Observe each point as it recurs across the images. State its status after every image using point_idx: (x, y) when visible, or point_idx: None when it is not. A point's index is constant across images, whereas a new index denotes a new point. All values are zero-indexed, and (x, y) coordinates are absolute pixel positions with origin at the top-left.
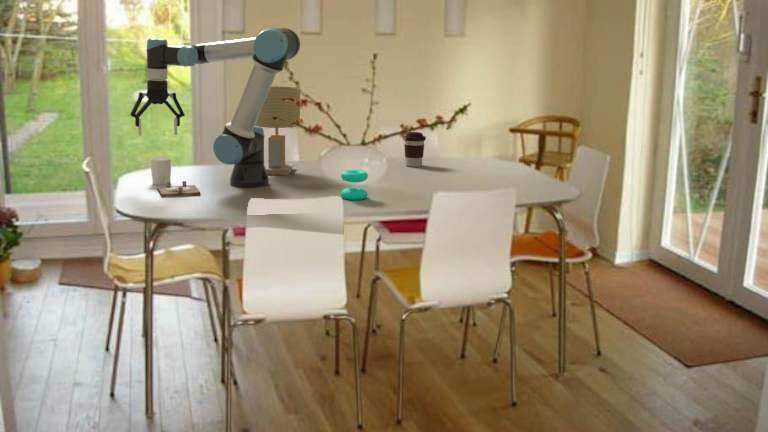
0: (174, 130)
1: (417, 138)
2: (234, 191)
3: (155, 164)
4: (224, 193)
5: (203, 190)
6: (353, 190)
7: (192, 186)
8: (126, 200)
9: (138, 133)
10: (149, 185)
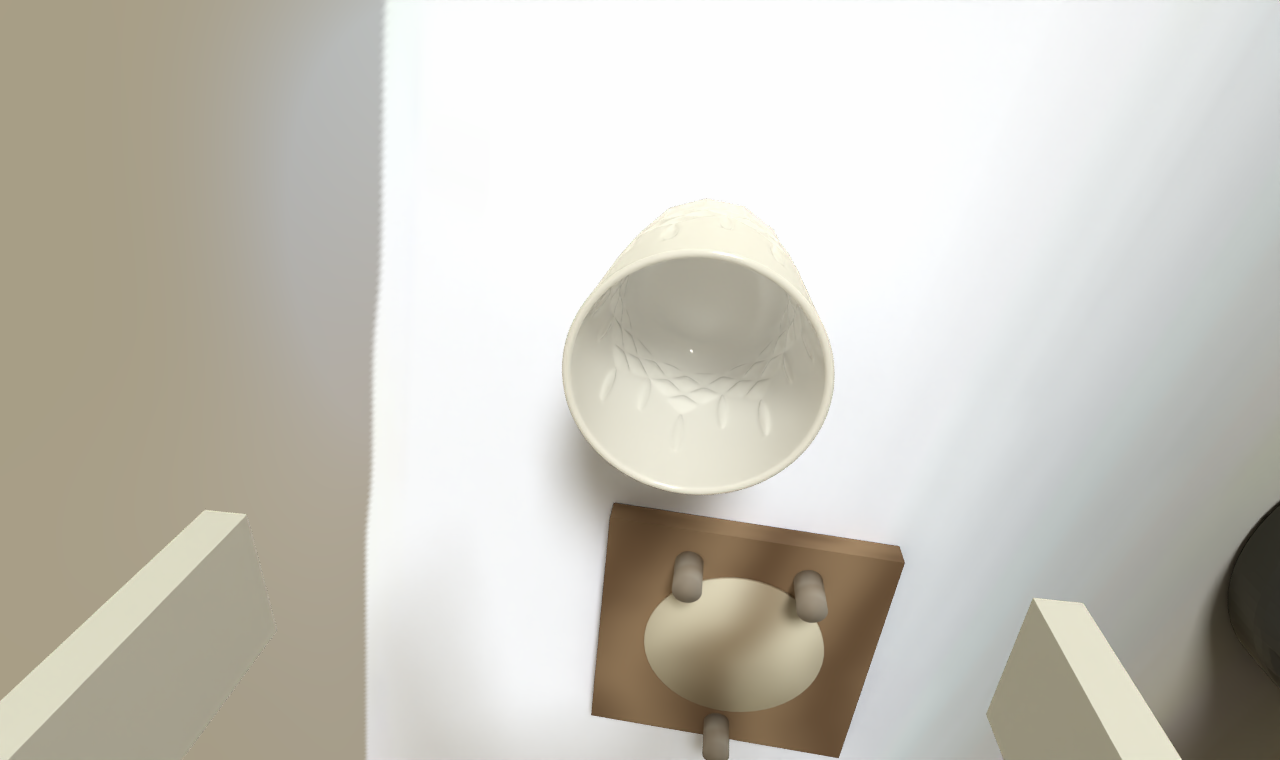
0: (1052, 732)
1: None
2: None
3: (614, 429)
4: None
5: (924, 630)
6: None
7: (866, 600)
8: (388, 686)
9: (192, 537)
10: None
